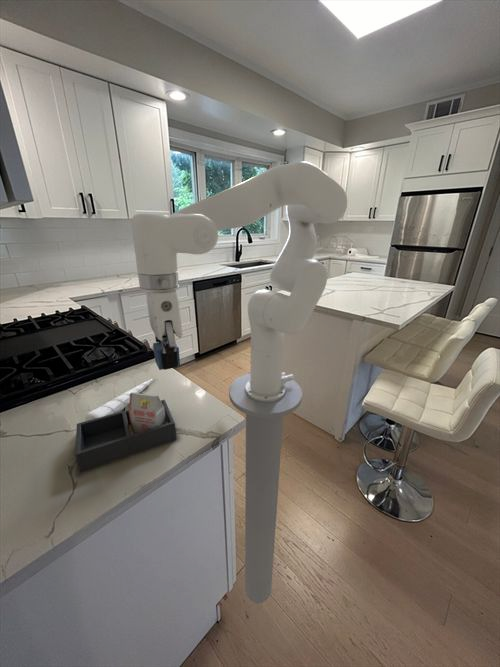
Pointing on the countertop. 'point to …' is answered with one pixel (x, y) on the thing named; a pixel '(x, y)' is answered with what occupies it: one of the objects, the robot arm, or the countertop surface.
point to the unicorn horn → (116, 403)
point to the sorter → (117, 438)
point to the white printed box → (145, 412)
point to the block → (157, 354)
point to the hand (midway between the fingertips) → (167, 361)
